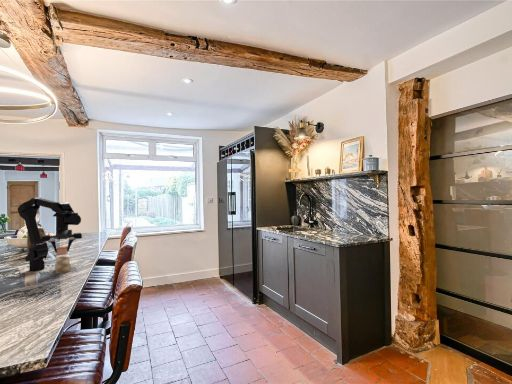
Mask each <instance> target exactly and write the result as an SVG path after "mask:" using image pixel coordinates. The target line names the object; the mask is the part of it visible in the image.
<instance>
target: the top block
mask: <svg viewBox="0 0 512 384" xmlns="http://www.w3.org/2000/svg"><path fill="white" fill-rule="evenodd" d="M70 260H71V257H70V255H69V254H65V255H56V256H55V261H56V262H55V263H56V264H57V265H64V264H70V263H71V261H70Z"/></svg>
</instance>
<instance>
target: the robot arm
mask: <svg viewBox="0 0 512 384" xmlns="http://www.w3.org/2000/svg"><path fill="white" fill-rule="evenodd" d="M41 207H43V208H47V209H50V210H51V211H52V212H54V214H53V215H52V217H55V235H51V234H45V235H42V236H41V237H40V233H39V230H38V228H39V227H38V223H37V220H36V217H37V215H38V210H39V209H40V208H41ZM17 212H18V215H19V217H20V218H22V220H24V223H25V226H26V230H27V232H28V234H29V238H30V242H31V245H30V248H29V254H28V253H27V255H26V256H25V257H24V258H25V261H26V262H28V263H29V268H28V269H29V270H28V272H29V273H32V272H38V271H44V269H45V260H44V259H47V258H48V257H47V256H48V255H49V249H50V248H49V247H48V243H50V244H51V245H52V247H53V249H54V252H55V253H56V247H57V246H56V240H59V241H60V240H67V239H68V242H67V246H68V252H69V251H70V249H71V246H72V243H73V242H74V241H76V240H79V239H83V234H82V233H81V232H73V230H72V229H69V226H78V225H79V224H81V223H82V222H81V221H82V218H81V216H80V215H79V212H75V211H74V210H73V207H72V206H71V204H70V202H67V201H54V200H50V199H46V198H42V197H31V198H30V199H28V200H27V201H24V202H23V203H21V204H19V206H18V207H17ZM43 241H46V243H43ZM47 242H48V243H47Z"/></svg>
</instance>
